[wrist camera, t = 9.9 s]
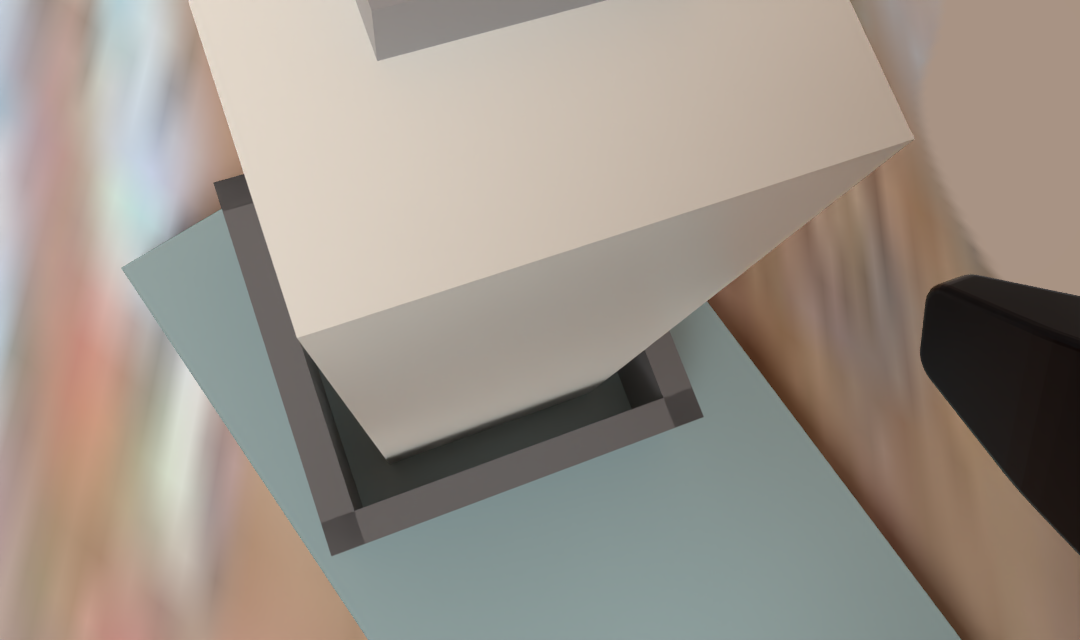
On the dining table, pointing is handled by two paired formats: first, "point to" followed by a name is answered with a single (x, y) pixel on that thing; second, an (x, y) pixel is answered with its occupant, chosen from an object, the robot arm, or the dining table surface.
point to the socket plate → (541, 484)
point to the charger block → (529, 179)
